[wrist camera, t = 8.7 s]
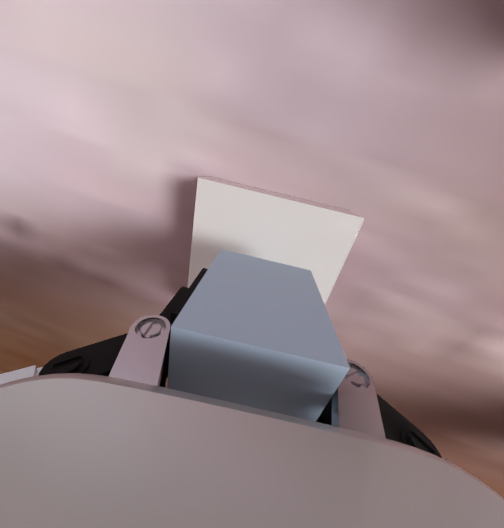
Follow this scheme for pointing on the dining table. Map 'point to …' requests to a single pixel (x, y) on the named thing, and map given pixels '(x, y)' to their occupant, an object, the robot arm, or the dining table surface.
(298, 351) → the blue block
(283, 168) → the dining table surface
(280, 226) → the base tile
